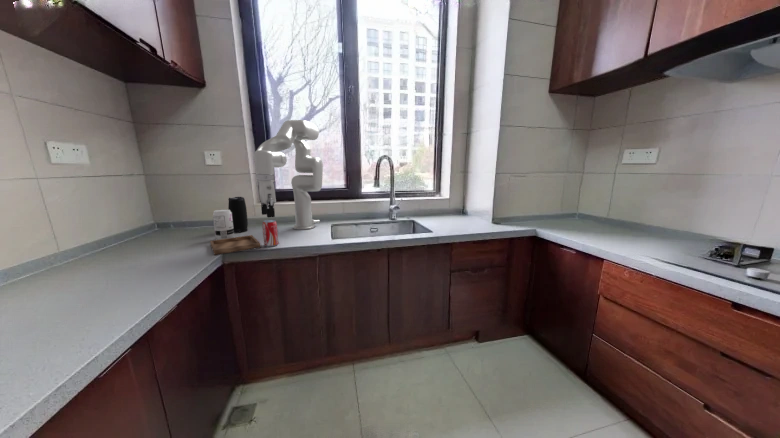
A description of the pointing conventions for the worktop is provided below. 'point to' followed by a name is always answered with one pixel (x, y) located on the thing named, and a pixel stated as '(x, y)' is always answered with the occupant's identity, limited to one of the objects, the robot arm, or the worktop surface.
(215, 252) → the tray
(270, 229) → the soda can
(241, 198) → the portable speaker
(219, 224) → the supplement can
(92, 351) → the worktop surface
